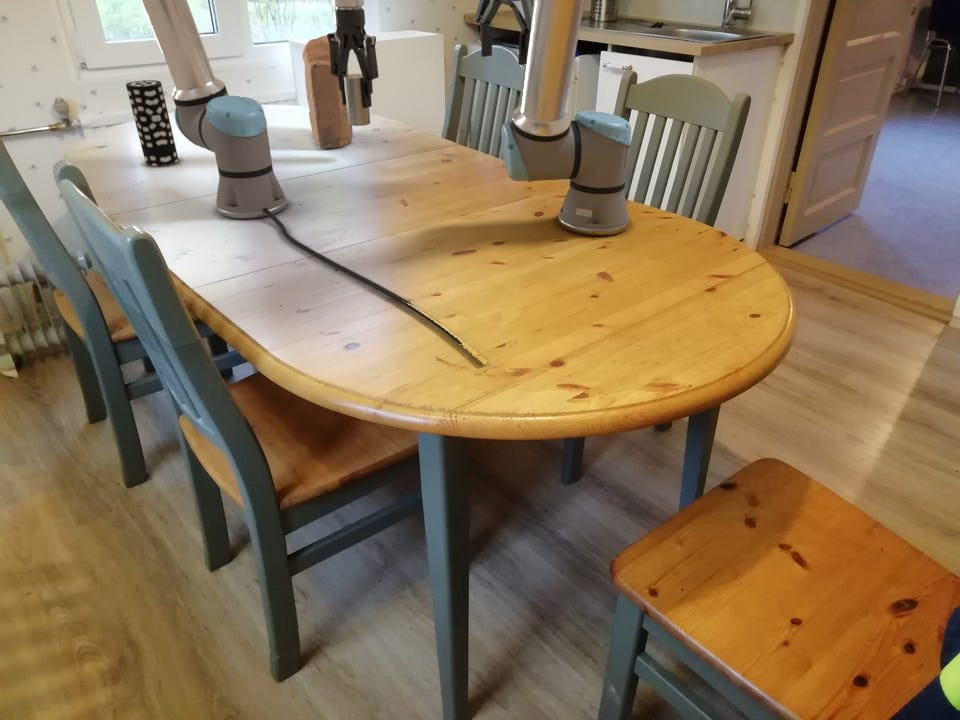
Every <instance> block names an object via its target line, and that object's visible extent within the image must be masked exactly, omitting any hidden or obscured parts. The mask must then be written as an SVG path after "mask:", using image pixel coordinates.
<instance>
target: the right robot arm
mask: <svg viewBox="0 0 960 720" xmlns="http://www.w3.org/2000/svg"><path fill="white" fill-rule="evenodd" d="M585 1H586V0H479V3H478V5H477V9H476V12H475V15H474V23H476V24H478V25H479V27H480V41H481V47H480V48H481V51H480V52H481V55H480V56H481V57H482V58H483V57H492V55H493V24H492V21H493V20H494V18H495V16H496V15H497V13H498V11H499V9H500V7H501V5H506V6H509V7H510V8H511V9H512V12H513V14H514V17H515V18H516V21H517V24H518V25H519V28H520V30H521V31H520V33H519V38H518V39H519V41H518V43H519V45H518V63H517V64H518V66H519V65H520V66H523V65H526V66H525V74H524V80H523V81H524V82H523V89H522V97H521V104H520V105H519V106H517V107H516V108H515V109H514V110H513V112H512V115H511V117H512V118H511V121H507V122H504V123H503V124H502V126H501V130H500V131H501V133H500V134H501V135H500V136H501V149H502V156H503V161H504V166H505V170H506V173H507V176H508V177H509V179H511V180H512V181H514V182H528V183H531V182H539V181H559V180H560V181H561V180H569V188H568V191H567V192H566V195H565V198H564V200H563V203H562V206H561V208H560V210H559V213H558V224H559V225H560V227H562V228H563V229H565V230H566V231H569V232H571V233H575V234H578V235H583V236H589V237H591V236H592V237H607V236H613V235H618V234H620V233H621V234H622V233H623V232H625V231H626V230H627V229H628V227H629V223H630V222H629V221H630V215H629V212H628V208H627V201H626V200H627V199H628V198H629V197H630V195H629V194H628V193H626V194H625V187H626V186H625V185H626V178H627V171H628V164H629V156H630V151H631V150H630V149H631V146H632V141H631V139H632V126H631V123H630V122H629V121H628V120H627V119H625V118H623V117H621V116H618V115H615V114H611V113H607V112H604V111H603V112H602V111H598V110H597V111H596V110H580V111H577V112H576V113H575V115H574V120H571V116H570V114H569V113H568V112H567V111H566V108H567V102H568V97H569V91H570V85H571V80H572V74H573V68H574V64H575V57H576V53H577V47H578V40H579V34H580V31H581V30H580V29H581V23H582V18H583V12H584V8H585Z"/></svg>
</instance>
